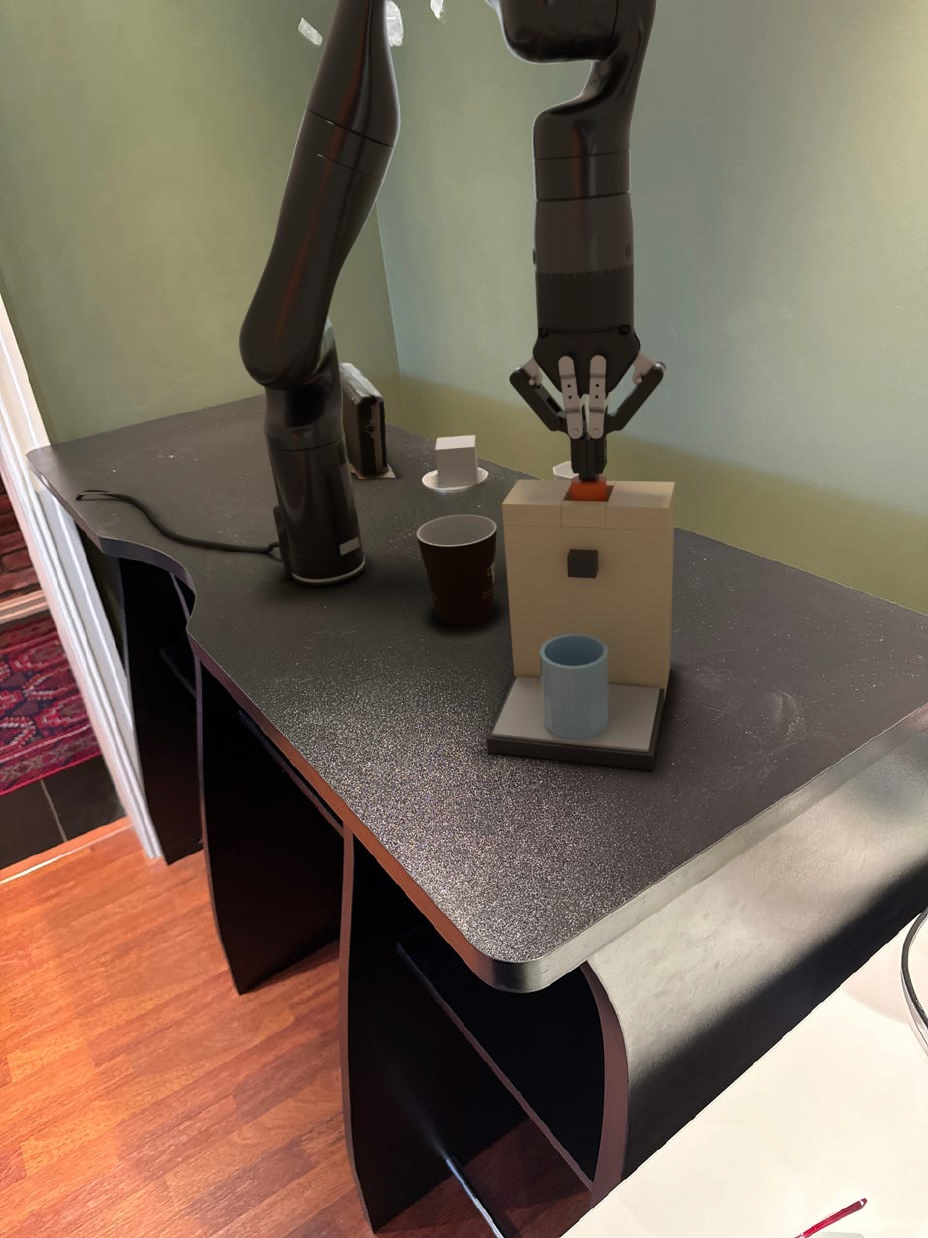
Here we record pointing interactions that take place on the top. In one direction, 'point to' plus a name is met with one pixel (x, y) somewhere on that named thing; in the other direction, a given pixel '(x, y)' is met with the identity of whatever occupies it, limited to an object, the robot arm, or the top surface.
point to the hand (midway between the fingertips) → (589, 477)
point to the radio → (364, 425)
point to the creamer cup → (575, 685)
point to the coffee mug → (460, 566)
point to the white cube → (456, 461)
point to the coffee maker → (589, 611)
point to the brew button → (589, 489)
